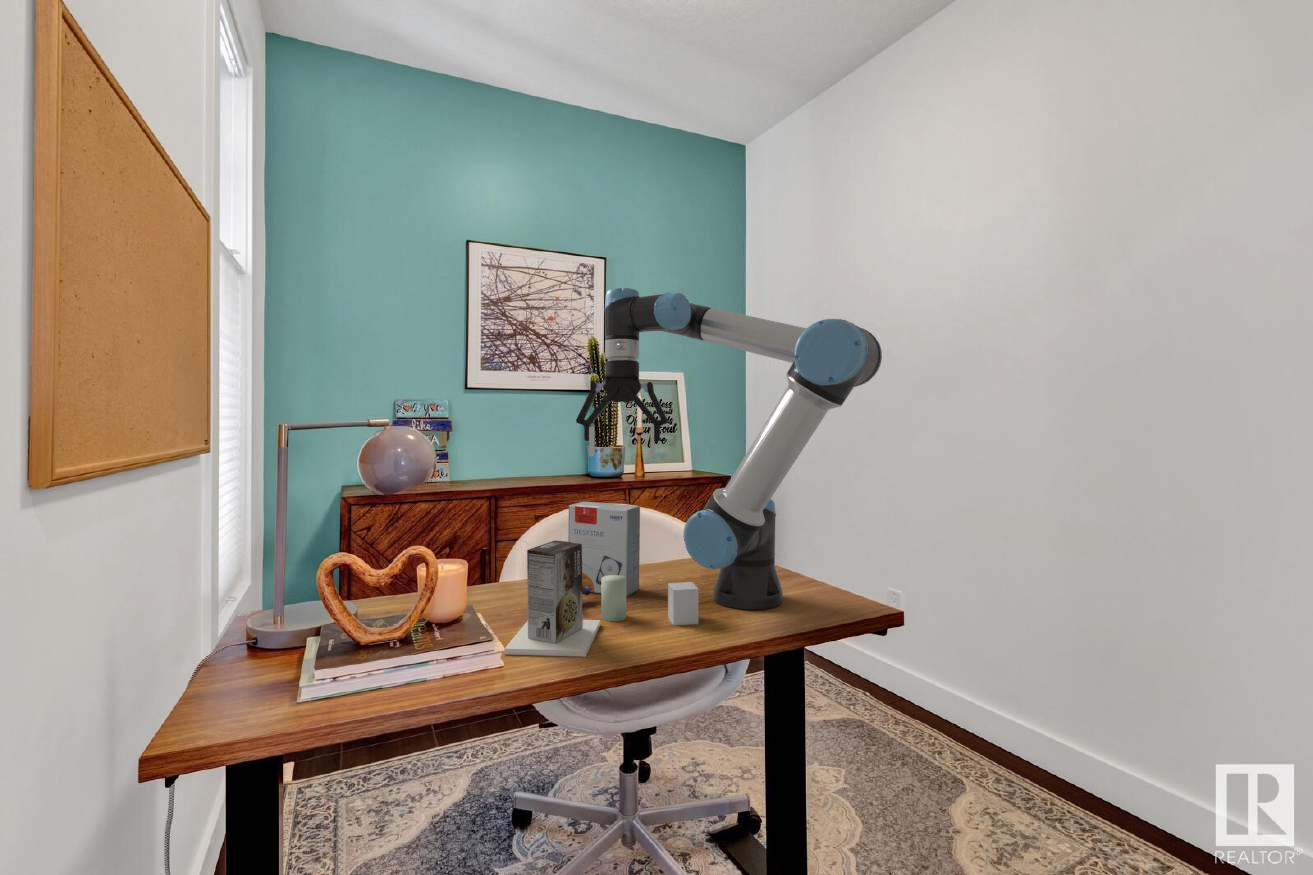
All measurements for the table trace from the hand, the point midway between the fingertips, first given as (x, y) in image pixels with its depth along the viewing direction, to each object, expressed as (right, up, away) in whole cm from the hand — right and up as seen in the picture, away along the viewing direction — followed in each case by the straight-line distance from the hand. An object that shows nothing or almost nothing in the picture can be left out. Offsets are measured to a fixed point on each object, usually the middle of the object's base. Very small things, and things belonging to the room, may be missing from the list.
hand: (622, 456), depth 140 cm
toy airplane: (-12, -32, -6) cm, 35 cm away
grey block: (+13, -32, -15) cm, 38 cm away
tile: (-11, -33, -25) cm, 43 cm away
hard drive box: (-5, -32, +7) cm, 33 cm away
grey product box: (-11, -32, -25) cm, 42 cm away
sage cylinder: (-1, -32, -13) cm, 35 cm away
